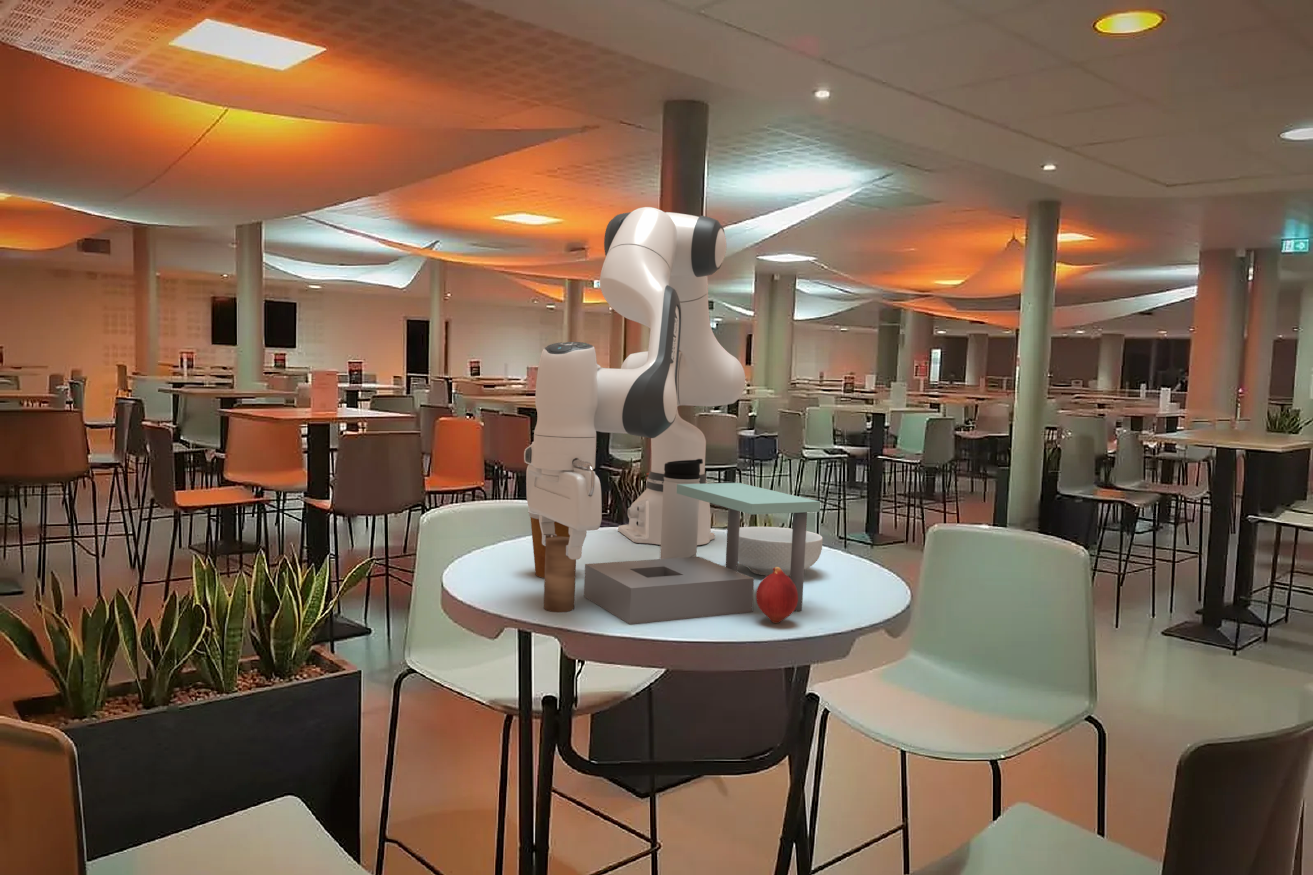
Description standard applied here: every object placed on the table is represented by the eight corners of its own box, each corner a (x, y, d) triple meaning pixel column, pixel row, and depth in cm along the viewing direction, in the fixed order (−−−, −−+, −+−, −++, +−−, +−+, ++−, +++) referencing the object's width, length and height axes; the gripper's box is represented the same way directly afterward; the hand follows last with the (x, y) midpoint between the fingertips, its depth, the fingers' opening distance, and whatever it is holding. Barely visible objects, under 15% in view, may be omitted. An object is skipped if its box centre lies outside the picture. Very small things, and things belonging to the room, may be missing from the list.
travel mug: (694, 578, 152) (699, 460, 151) (656, 575, 154) (661, 458, 152) (700, 571, 158) (705, 457, 157) (663, 567, 160) (668, 455, 158)
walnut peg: (539, 605, 131) (541, 537, 130) (567, 603, 133) (569, 536, 132) (550, 613, 127) (552, 543, 126) (578, 610, 129) (581, 541, 128)
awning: (672, 584, 147) (676, 484, 146) (734, 579, 153) (739, 482, 152) (746, 618, 128) (752, 503, 127) (814, 611, 134) (820, 501, 132)
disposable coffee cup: (527, 581, 145) (529, 507, 144) (524, 568, 154) (526, 499, 154) (586, 581, 147) (588, 508, 146) (579, 568, 156) (582, 500, 155)
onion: (774, 615, 131) (776, 560, 130) (805, 624, 126) (808, 568, 126) (746, 621, 127) (749, 565, 126) (777, 630, 123) (780, 572, 122)
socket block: (583, 596, 137) (585, 564, 137) (697, 586, 146) (698, 556, 146) (629, 624, 123) (631, 588, 122) (752, 611, 132) (753, 578, 132)
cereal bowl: (840, 576, 159) (842, 536, 159) (776, 587, 148) (778, 545, 148) (770, 558, 172) (771, 522, 172) (706, 567, 161) (708, 528, 161)
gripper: (615, 463, 120) (611, 565, 121) (559, 449, 138) (555, 539, 139) (571, 463, 117) (567, 568, 118) (520, 449, 135) (516, 540, 136)
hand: (560, 552), depth 129 cm, fingers open, 8 cm apart
